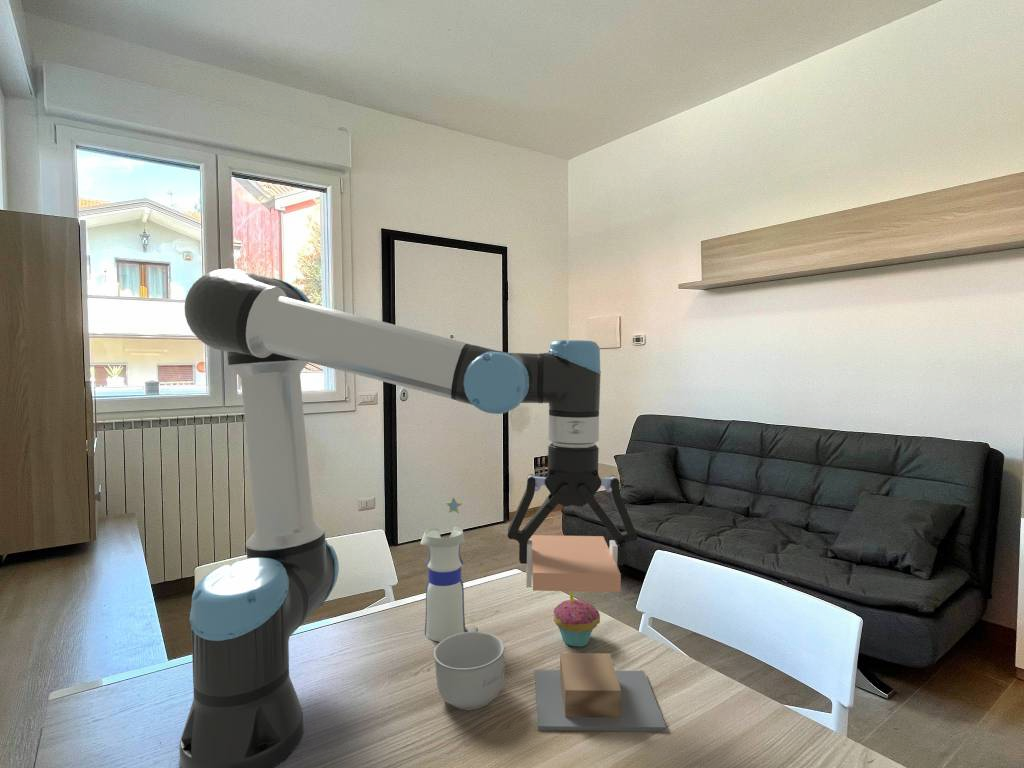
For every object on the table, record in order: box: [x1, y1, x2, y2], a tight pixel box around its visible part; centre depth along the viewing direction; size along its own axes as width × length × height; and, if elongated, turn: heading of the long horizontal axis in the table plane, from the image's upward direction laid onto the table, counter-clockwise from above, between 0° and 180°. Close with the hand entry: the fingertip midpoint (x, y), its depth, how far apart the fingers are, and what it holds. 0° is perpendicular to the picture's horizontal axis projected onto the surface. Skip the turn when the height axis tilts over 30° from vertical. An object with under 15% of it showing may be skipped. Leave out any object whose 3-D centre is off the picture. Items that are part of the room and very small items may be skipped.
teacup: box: [432, 625, 506, 711], centre depth 87 cm, size 14×11×8 cm
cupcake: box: [553, 591, 601, 647], centre depth 103 cm, size 9×8×12 cm
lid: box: [530, 534, 622, 593], centre depth 84 cm, size 12×16×2 cm
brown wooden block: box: [559, 652, 621, 718], centre depth 85 cm, size 8×10×4 cm
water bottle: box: [420, 497, 467, 643], centre depth 106 cm, size 8×9×25 cm
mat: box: [534, 669, 667, 732], centre depth 85 cm, size 18×14×1 cm
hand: (570, 584), depth 84 cm, fingers closed on lid, 12 cm apart
